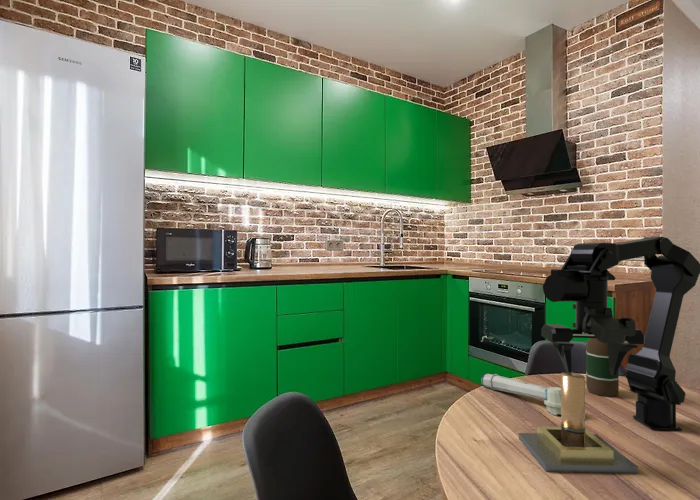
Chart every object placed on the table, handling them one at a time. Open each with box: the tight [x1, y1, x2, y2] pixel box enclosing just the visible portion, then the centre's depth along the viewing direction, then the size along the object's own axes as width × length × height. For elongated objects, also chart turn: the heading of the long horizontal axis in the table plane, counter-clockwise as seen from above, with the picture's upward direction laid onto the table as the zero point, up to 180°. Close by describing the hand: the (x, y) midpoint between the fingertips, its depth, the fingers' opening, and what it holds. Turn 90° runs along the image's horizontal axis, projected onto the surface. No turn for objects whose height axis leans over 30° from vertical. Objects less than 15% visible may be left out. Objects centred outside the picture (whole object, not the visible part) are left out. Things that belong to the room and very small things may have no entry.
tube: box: [560, 371, 586, 447], centre depth 74 cm, size 4×4×14 cm
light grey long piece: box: [480, 373, 561, 416], centre depth 102 cm, size 5×7×25 cm
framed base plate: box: [518, 426, 639, 474], centre depth 74 cm, size 16×12×3 cm
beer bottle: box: [585, 338, 620, 398], centre depth 107 cm, size 8×8×24 cm
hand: (590, 374), depth 82 cm, fingers open, 9 cm apart
